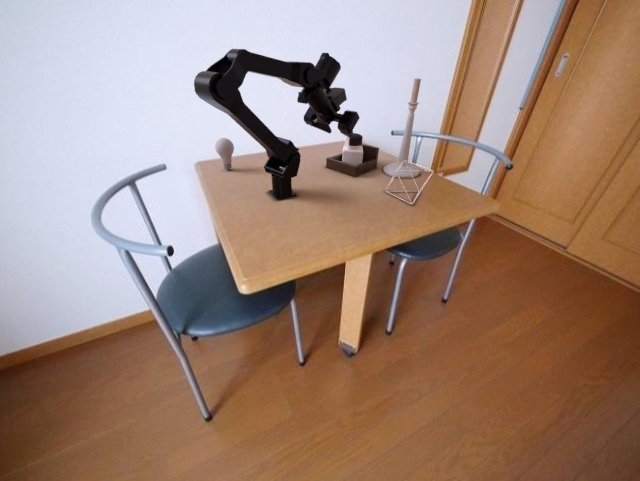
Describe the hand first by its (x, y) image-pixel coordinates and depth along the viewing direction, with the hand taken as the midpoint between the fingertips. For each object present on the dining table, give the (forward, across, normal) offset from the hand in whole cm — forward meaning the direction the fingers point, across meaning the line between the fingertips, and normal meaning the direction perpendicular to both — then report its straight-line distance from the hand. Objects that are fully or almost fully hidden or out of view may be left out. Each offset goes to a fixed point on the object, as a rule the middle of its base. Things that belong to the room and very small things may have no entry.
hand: (341, 134), depth 95 cm
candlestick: (+21, -15, -3) cm, 26 cm away
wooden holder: (+14, 0, +4) cm, 15 cm away
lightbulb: (-10, +29, +28) cm, 42 cm away
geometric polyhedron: (+9, -27, +10) cm, 30 cm away
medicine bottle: (+14, 0, +4) cm, 15 cm away
